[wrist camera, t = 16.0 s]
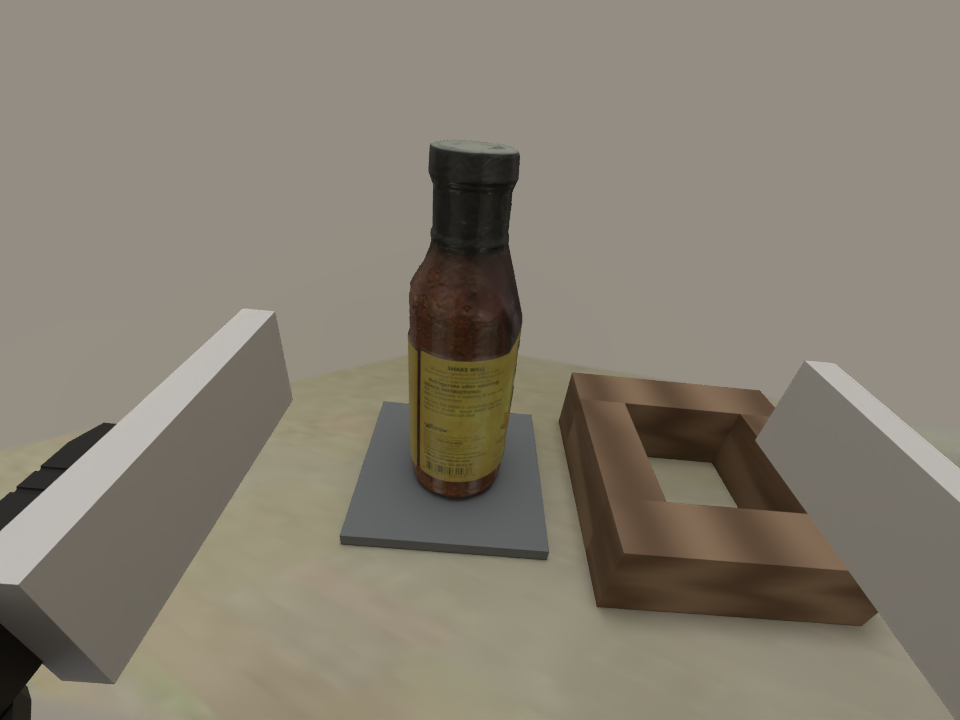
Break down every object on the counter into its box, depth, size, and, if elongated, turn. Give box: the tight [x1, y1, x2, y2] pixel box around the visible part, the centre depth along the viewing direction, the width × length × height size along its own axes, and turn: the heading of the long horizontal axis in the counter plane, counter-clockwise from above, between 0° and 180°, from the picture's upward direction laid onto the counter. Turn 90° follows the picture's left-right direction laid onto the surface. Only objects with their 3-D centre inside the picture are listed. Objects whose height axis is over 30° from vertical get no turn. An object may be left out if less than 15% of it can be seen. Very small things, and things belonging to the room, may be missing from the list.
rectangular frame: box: [559, 373, 878, 626], centre depth 28 cm, size 15×15×5 cm
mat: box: [340, 402, 549, 560], centre depth 29 cm, size 12×12×1 cm
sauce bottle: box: [408, 140, 522, 498], centre depth 24 cm, size 6×6×20 cm
